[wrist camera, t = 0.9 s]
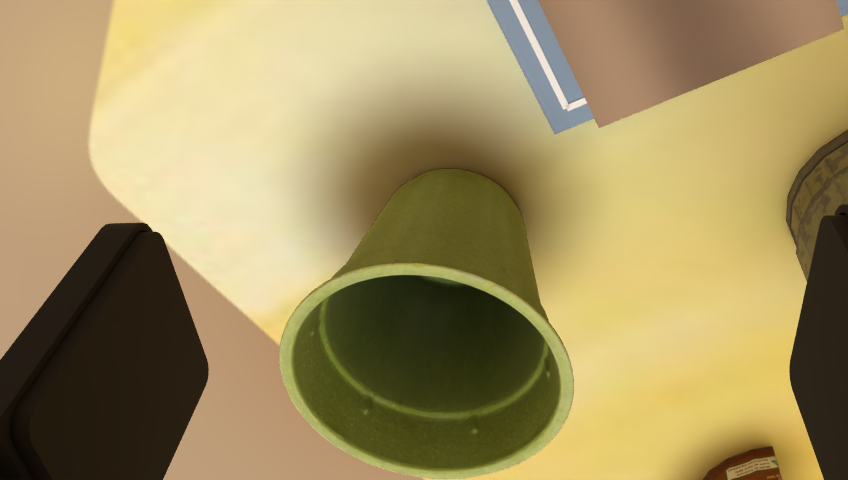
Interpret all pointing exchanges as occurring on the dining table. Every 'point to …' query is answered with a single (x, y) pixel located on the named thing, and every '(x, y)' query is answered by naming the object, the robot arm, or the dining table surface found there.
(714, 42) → the walnut plinth
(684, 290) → the dining table surface
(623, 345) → the dining table surface
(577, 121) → the blueprint mat
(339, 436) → the plant pot
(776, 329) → the dining table surface
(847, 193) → the thermos
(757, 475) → the food container
